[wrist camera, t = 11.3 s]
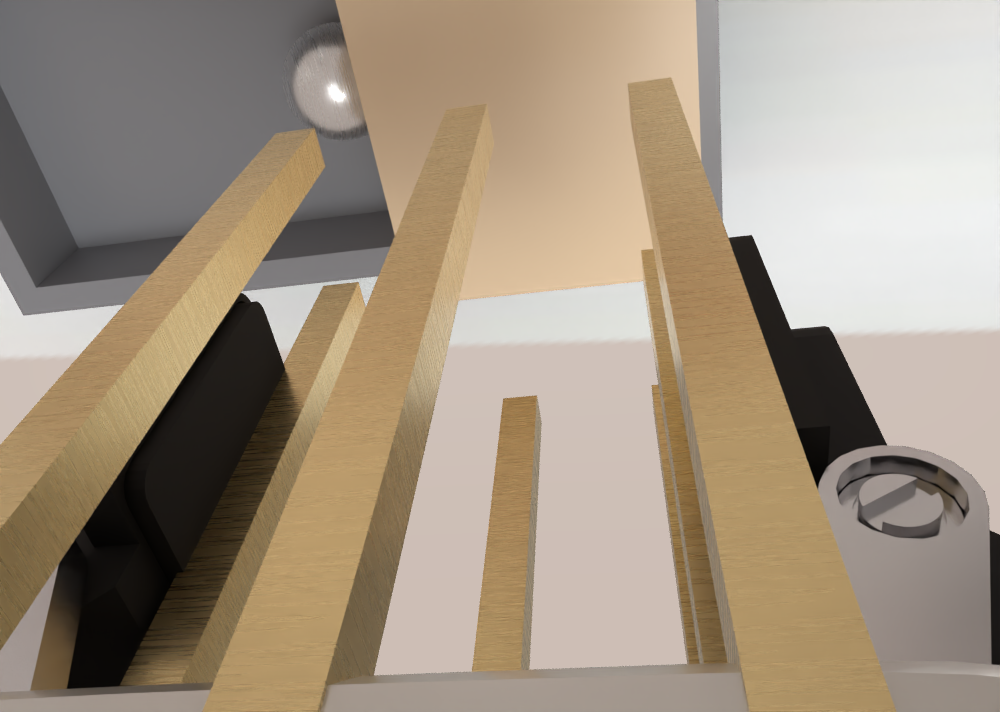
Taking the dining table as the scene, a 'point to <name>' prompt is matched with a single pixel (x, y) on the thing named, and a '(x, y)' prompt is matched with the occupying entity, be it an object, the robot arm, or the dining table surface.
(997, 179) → the dining table surface
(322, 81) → the ball
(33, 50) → the shaker tray
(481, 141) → the tan slotted block
